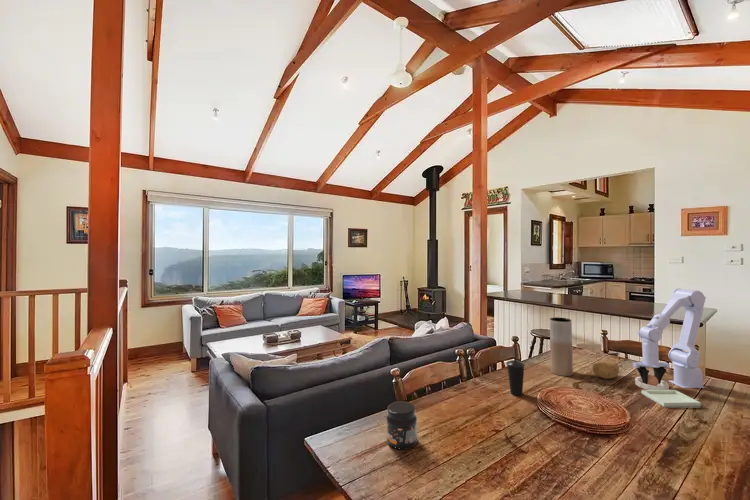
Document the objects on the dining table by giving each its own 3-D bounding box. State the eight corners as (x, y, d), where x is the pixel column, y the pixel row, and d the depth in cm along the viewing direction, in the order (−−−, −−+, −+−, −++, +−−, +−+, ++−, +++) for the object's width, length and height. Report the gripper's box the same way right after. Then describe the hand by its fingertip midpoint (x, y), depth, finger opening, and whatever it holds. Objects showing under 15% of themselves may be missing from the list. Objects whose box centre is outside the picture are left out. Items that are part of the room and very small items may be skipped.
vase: (546, 370, 175) (545, 318, 175) (561, 368, 178) (559, 316, 178) (562, 377, 165) (560, 322, 165) (577, 374, 168) (576, 320, 168)
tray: (675, 394, 143) (675, 389, 143) (700, 407, 131) (700, 402, 131) (641, 394, 144) (641, 389, 144) (663, 407, 132) (663, 402, 132)
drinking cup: (522, 390, 152) (521, 346, 152) (528, 397, 144) (526, 351, 144) (505, 390, 153) (503, 346, 153) (510, 397, 145) (508, 351, 145)
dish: (654, 381, 157) (654, 376, 157) (675, 392, 145) (675, 386, 145) (629, 381, 158) (629, 376, 158) (647, 392, 146) (647, 386, 146)
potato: (625, 378, 162) (625, 362, 162) (608, 384, 156) (607, 367, 156) (605, 372, 171) (604, 356, 171) (587, 377, 165) (587, 361, 165)
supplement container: (382, 437, 117) (381, 403, 117) (409, 431, 121) (408, 398, 121) (394, 454, 107) (393, 417, 107) (423, 446, 111) (422, 410, 111)
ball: (652, 383, 154) (652, 373, 154) (661, 388, 149) (661, 377, 149) (641, 383, 154) (641, 373, 154) (649, 388, 149) (649, 377, 149)
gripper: (640, 356, 148) (641, 386, 148) (674, 356, 147) (675, 386, 147) (629, 351, 155) (630, 380, 155) (661, 351, 154) (662, 380, 154)
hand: (651, 383), depth 151 cm, fingers closed on ball, 5 cm apart
